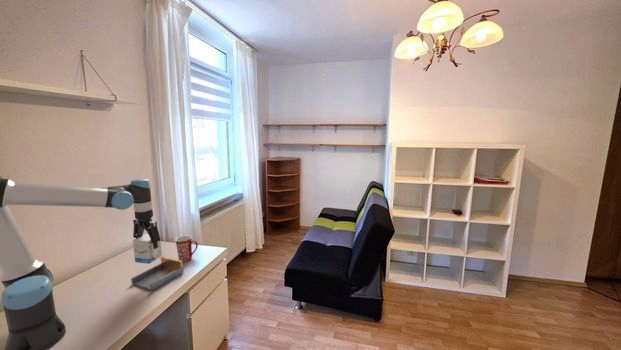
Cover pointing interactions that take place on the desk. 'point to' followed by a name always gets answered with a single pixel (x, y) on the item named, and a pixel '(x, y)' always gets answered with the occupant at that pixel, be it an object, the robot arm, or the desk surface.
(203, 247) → the desk surface
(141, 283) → the grey open box
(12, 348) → the robot arm
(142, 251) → the ink box
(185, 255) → the mug
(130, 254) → the desk surface
